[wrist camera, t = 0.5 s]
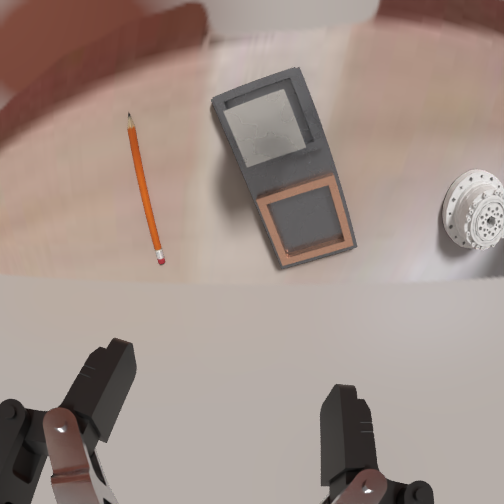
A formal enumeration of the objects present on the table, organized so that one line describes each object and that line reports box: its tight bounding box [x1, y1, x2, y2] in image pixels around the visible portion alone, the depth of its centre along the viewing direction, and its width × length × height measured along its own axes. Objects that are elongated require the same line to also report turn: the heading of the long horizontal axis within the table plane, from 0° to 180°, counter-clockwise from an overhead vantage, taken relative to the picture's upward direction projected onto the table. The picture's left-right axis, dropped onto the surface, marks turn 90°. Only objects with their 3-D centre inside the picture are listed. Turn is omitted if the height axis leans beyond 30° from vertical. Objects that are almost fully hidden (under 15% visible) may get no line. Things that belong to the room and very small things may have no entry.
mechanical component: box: [442, 169, 504, 251], centre depth 28 cm, size 10×4×10 cm
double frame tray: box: [211, 67, 357, 269], centre depth 29 cm, size 9×20×2 cm, turn 22°
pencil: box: [128, 114, 165, 264], centre depth 33 cm, size 1×19×1 cm, turn 6°
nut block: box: [223, 89, 306, 167], centre depth 23 cm, size 4×4×8 cm
